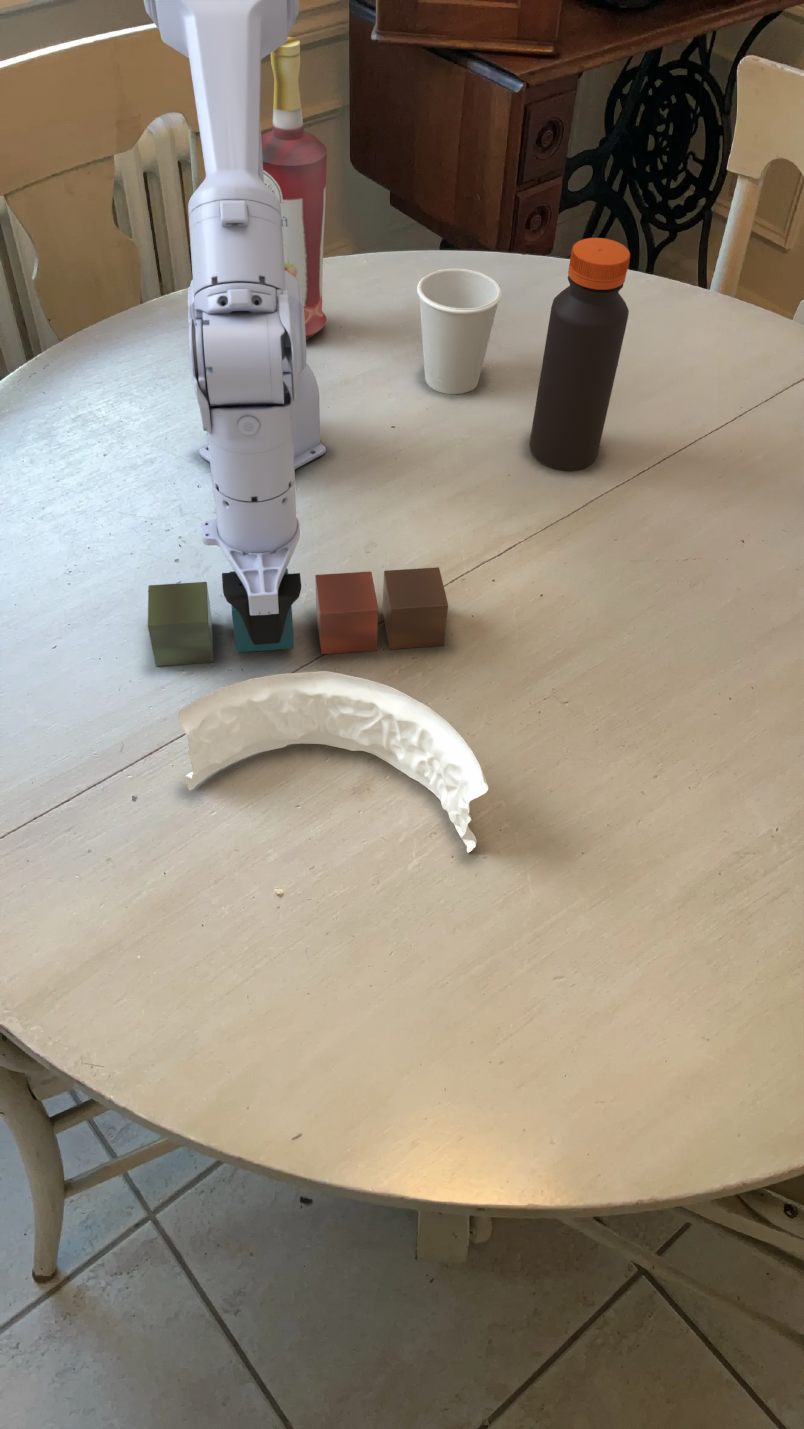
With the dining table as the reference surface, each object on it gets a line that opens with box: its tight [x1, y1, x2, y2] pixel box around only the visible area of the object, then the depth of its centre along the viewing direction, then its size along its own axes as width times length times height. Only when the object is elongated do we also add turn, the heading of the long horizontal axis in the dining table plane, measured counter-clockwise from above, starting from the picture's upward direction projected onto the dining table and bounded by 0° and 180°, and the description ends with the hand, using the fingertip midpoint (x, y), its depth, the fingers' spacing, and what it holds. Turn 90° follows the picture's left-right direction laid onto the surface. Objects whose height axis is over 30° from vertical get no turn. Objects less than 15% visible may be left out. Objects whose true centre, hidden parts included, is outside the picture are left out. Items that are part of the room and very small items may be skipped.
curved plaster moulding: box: [176, 670, 489, 854], centre depth 72 cm, size 11×20×8 cm, turn 97°
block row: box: [147, 566, 449, 667], centre depth 84 cm, size 23×4×4 cm, turn 98°
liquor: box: [261, 36, 328, 340], centre depth 105 cm, size 7×7×28 cm
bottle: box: [528, 237, 631, 471], centre depth 96 cm, size 7×7×20 cm
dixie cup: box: [416, 268, 503, 395], centre depth 107 cm, size 8×8×10 cm
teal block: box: [229, 568, 295, 653], centre depth 82 cm, size 4×4×4 cm
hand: (264, 617), depth 83 cm, fingers closed on teal block, 4 cm apart
